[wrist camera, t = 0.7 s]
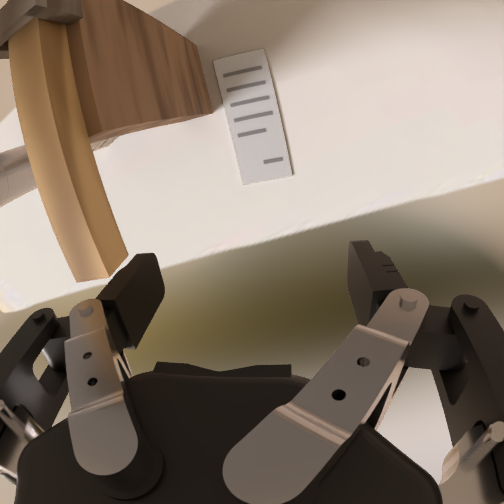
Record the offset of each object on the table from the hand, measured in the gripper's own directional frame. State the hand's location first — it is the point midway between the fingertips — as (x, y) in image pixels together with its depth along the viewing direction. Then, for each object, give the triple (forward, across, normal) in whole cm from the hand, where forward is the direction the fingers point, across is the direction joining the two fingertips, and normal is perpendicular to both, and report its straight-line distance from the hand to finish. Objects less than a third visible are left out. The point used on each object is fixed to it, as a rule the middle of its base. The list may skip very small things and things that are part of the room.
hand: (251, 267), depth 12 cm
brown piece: (+37, -12, +12) cm, 41 cm away
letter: (+37, -3, +5) cm, 38 cm away
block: (+5, -11, +8) cm, 15 cm away
